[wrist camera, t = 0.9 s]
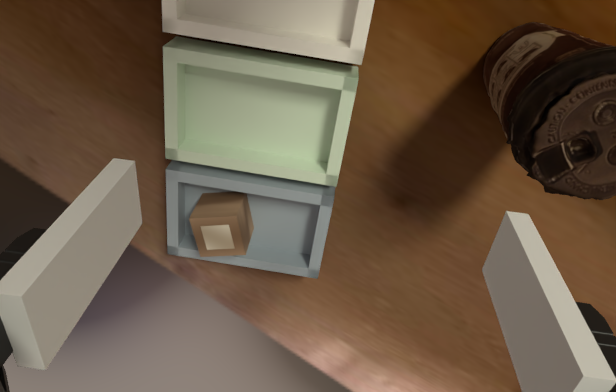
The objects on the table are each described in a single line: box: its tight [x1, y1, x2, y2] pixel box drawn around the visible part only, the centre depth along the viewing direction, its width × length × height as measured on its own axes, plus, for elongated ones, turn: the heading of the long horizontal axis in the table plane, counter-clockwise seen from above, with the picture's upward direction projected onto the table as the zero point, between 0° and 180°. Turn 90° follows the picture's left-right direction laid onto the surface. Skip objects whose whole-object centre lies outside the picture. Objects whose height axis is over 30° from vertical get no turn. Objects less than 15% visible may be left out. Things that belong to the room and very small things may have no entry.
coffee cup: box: [483, 22, 616, 200], centre depth 29 cm, size 9×8×13 cm
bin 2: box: [166, 160, 335, 279], centre depth 42 cm, size 9×14×3 cm, turn 82°
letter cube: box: [189, 191, 254, 257], centre depth 40 cm, size 4×4×4 cm
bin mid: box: [163, 36, 359, 187], centre depth 37 cm, size 9×14×3 cm, turn 82°
